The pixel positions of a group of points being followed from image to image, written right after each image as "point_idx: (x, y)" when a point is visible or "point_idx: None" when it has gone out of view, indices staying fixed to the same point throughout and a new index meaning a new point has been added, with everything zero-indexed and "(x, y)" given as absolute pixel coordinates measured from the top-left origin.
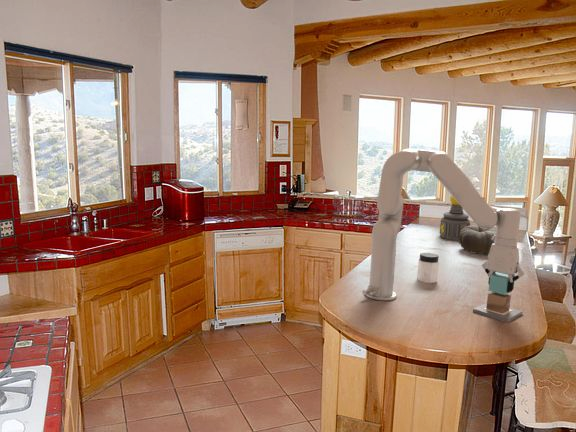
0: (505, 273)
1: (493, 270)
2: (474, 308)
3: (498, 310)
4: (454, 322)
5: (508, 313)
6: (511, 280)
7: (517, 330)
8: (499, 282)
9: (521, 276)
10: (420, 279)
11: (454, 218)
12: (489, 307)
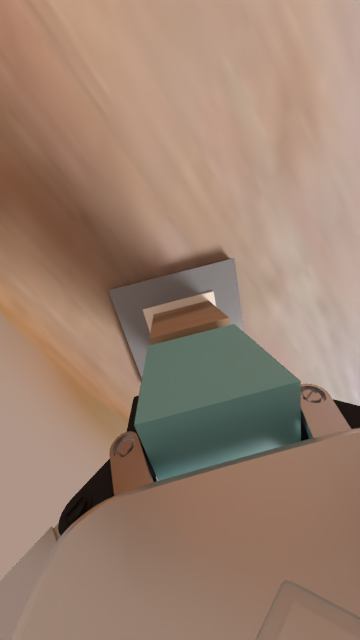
0: (151, 489)
1: (323, 444)
2: (233, 265)
3: (166, 312)
4: (188, 55)
5: (149, 338)
6: (124, 450)
7: (41, 256)
8: (191, 373)
9: (20, 561)
10: None
11: None
12: (199, 305)
